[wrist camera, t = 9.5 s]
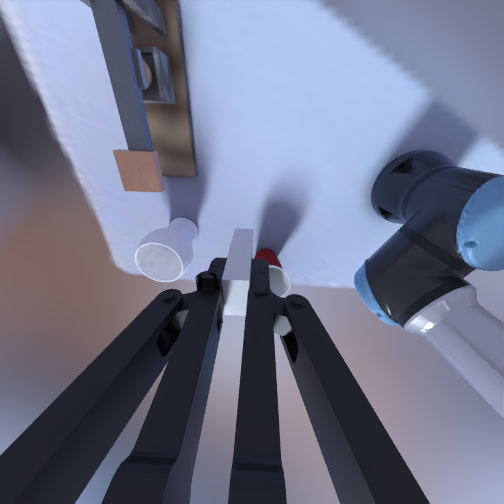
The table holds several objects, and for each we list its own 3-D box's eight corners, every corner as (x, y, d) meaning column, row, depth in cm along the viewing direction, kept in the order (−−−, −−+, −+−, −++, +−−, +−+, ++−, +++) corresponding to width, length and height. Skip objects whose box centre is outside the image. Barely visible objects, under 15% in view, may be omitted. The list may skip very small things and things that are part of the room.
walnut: (153, 59, 31) (140, 50, 28) (159, 92, 33) (147, 87, 30) (128, 58, 31) (111, 49, 28) (135, 91, 33) (120, 87, 30)
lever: (90, -6, 25) (58, -30, 21) (137, -5, 25) (114, -29, 21) (139, 184, 37) (124, 190, 33) (171, 185, 37) (160, 192, 33)
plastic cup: (279, 276, 59) (283, 307, 49) (243, 268, 58) (239, 298, 48) (291, 245, 54) (298, 272, 44) (252, 236, 53) (249, 261, 43)
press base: (116, 1, 32) (20, -83, 19) (178, 3, 32) (122, -82, 19) (152, 174, 46) (110, 191, 33) (196, 175, 46) (171, 193, 33)
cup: (202, 212, 50) (181, 241, 37) (205, 249, 56) (189, 285, 43) (159, 210, 50) (124, 238, 37) (167, 247, 56) (139, 283, 43)
